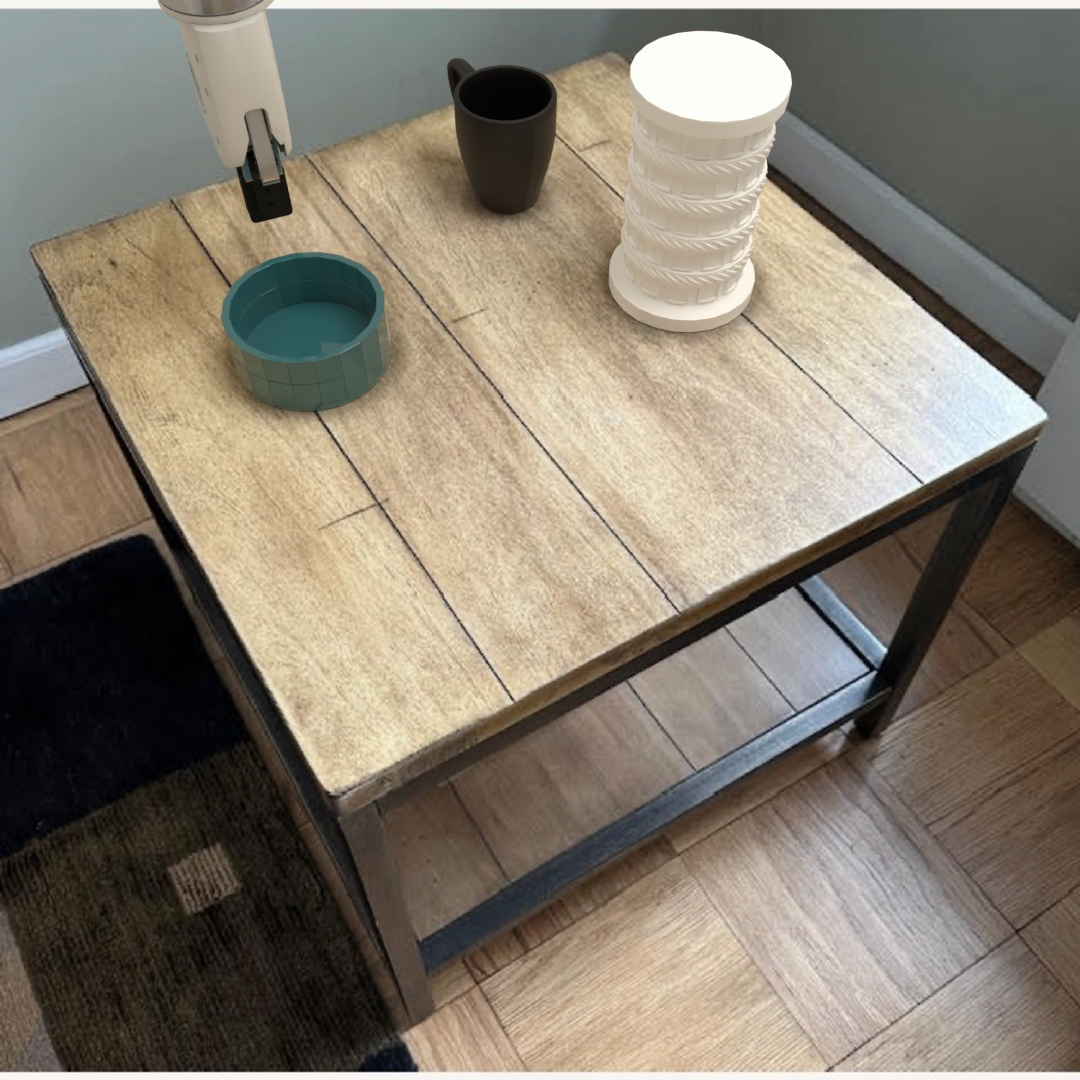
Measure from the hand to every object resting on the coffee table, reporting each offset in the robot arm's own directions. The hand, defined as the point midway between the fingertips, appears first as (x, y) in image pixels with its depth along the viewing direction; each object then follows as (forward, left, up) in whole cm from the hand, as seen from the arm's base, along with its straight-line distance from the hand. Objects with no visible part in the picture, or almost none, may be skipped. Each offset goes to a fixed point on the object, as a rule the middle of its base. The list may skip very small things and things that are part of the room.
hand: (270, 212), depth 83 cm
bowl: (+3, -9, -6) cm, 11 cm away
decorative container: (+32, -3, -6) cm, 32 cm away
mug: (+18, +11, -6) cm, 22 cm away
